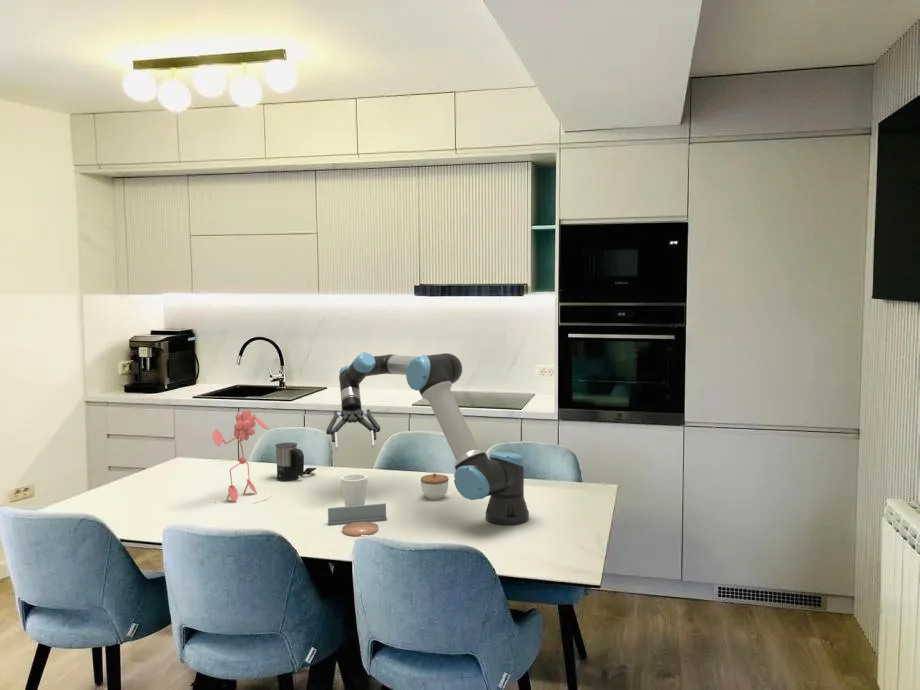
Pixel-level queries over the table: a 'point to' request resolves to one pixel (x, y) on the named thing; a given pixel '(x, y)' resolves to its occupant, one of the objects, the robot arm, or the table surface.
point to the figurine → (243, 431)
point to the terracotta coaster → (360, 528)
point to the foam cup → (354, 489)
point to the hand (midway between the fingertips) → (355, 448)
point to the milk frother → (290, 462)
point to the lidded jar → (434, 486)
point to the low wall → (357, 514)
